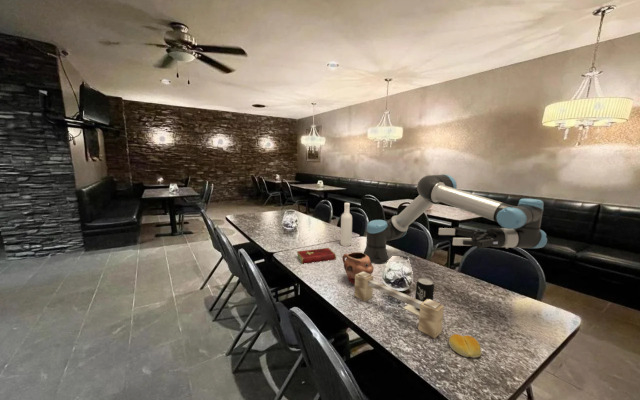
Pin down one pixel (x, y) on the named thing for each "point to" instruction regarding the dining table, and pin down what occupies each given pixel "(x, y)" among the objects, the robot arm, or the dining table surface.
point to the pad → (412, 309)
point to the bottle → (346, 226)
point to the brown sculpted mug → (356, 265)
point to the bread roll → (465, 345)
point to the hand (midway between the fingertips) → (445, 236)
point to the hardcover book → (316, 255)
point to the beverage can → (424, 289)
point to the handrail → (428, 309)
